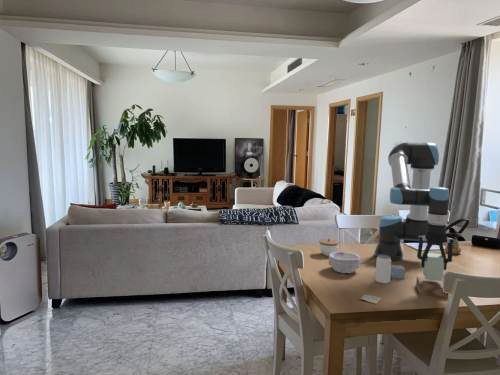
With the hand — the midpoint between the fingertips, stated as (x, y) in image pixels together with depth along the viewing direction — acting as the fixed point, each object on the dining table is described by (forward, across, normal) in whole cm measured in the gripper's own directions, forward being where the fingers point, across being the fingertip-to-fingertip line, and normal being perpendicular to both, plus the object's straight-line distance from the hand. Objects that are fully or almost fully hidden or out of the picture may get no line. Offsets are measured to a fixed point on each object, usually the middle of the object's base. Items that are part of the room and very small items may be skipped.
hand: (432, 275), depth 160 cm
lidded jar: (+7, -48, +39) cm, 62 cm away
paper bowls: (+7, -38, +14) cm, 41 cm away
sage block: (+1, 0, 0) cm, 1 cm away
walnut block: (+7, 0, 0) cm, 7 cm away
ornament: (+7, +22, +68) cm, 72 cm away
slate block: (+7, -13, +14) cm, 20 cm away
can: (+7, -20, +5) cm, 22 cm away
